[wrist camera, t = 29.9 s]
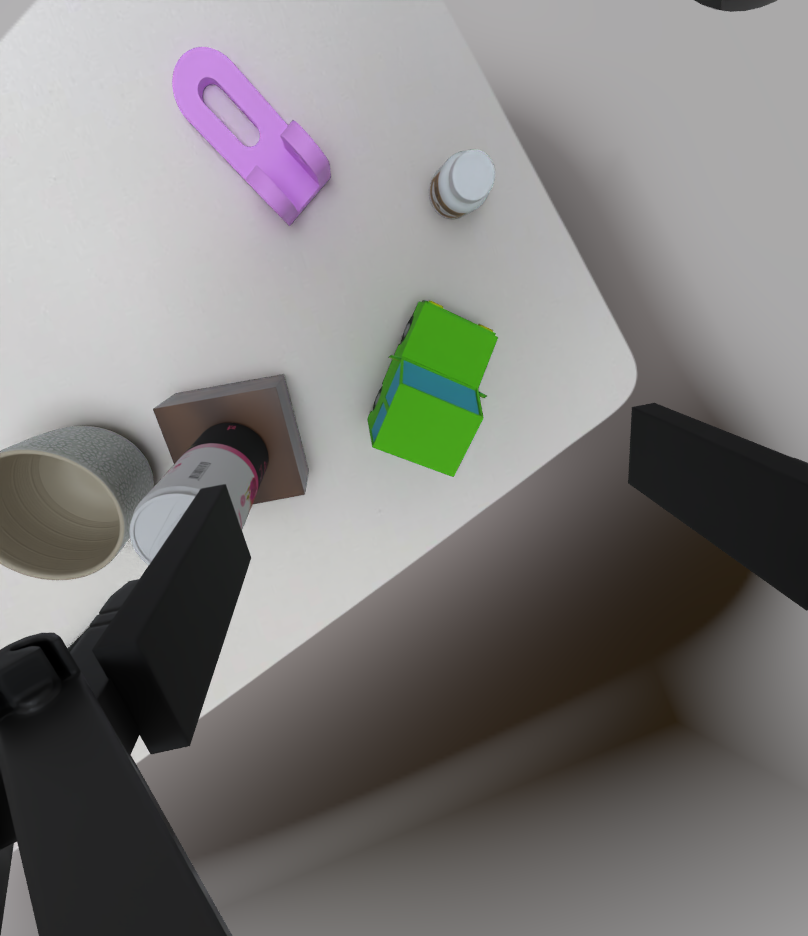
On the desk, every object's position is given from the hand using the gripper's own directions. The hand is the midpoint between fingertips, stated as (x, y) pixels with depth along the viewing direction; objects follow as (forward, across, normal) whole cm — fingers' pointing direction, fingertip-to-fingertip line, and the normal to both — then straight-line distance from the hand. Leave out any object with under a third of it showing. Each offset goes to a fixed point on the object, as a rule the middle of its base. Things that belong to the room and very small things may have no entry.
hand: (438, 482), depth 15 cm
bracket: (+35, -7, +18) cm, 40 cm away
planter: (+35, -30, -8) cm, 47 cm away
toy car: (+35, +5, -4) cm, 35 cm away
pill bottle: (+35, +10, +12) cm, 38 cm away
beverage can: (+29, -15, -7) cm, 33 cm away
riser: (+35, -15, -7) cm, 38 cm away
